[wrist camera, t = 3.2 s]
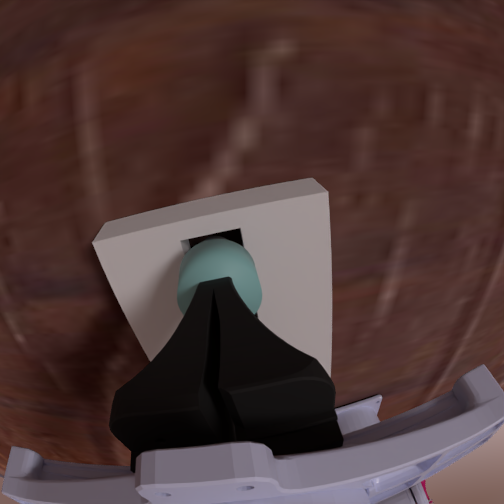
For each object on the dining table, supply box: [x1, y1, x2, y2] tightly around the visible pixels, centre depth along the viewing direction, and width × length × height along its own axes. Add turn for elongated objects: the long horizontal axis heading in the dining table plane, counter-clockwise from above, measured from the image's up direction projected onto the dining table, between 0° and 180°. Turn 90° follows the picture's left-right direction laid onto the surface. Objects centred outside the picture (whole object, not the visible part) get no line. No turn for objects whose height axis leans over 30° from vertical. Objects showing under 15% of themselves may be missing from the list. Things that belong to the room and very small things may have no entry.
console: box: [92, 178, 332, 377], centre depth 21 cm, size 21×12×2 cm, turn 9°
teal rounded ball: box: [177, 236, 262, 315], centre depth 15 cm, size 4×4×4 cm
